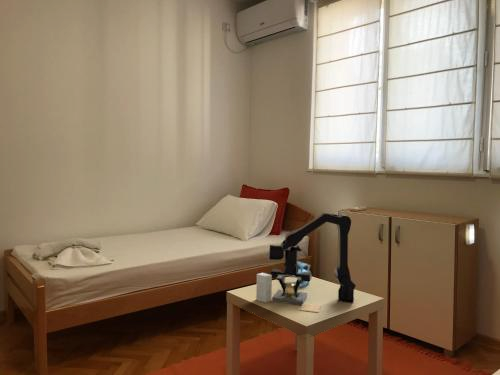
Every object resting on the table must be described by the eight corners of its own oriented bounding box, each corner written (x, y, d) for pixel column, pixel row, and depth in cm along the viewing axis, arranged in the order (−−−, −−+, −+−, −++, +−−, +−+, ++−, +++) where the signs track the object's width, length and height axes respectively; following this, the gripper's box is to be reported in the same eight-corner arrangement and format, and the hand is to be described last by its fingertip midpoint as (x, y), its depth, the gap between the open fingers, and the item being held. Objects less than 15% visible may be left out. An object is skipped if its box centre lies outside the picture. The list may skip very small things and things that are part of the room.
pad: (321, 306, 178) (321, 305, 178) (318, 312, 171) (318, 311, 171) (303, 304, 181) (303, 303, 181) (299, 310, 173) (299, 309, 173)
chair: (312, 285, 209) (313, 262, 209) (300, 287, 205) (300, 264, 204) (302, 281, 216) (303, 259, 215) (290, 283, 211) (291, 260, 211)
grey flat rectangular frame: (307, 296, 191) (307, 292, 191) (302, 305, 180) (302, 301, 180) (278, 293, 196) (278, 289, 195) (272, 301, 184) (272, 297, 184)
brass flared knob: (297, 297, 190) (297, 282, 189) (294, 301, 184) (295, 286, 184) (285, 296, 191) (285, 281, 191) (282, 300, 186) (283, 285, 185)
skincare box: (271, 300, 185) (272, 275, 184) (265, 303, 182) (266, 276, 181) (262, 297, 189) (262, 272, 188) (255, 299, 186) (256, 273, 185)
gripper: (313, 258, 191) (312, 290, 192) (275, 254, 197) (274, 286, 198) (310, 263, 181) (309, 297, 182) (269, 259, 186) (269, 292, 187)
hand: (290, 293), depth 188 cm, fingers closed on brass flared knob, 5 cm apart
